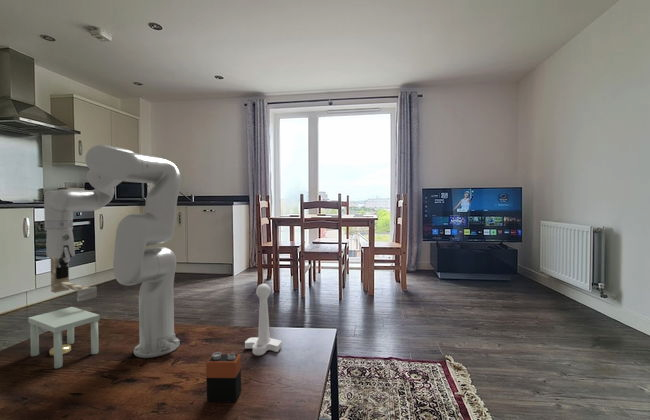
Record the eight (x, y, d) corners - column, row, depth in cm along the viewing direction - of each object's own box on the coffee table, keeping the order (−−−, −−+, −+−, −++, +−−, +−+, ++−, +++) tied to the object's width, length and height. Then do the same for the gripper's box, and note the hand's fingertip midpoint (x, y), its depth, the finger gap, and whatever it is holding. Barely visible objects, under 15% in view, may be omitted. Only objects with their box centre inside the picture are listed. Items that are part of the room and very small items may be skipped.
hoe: (96, 297, 102) (96, 254, 101) (79, 301, 97) (78, 257, 97) (66, 288, 112) (66, 250, 111) (49, 291, 107) (48, 251, 107)
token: (74, 351, 96) (74, 346, 96) (54, 358, 91) (53, 353, 91) (66, 347, 98) (66, 343, 98) (46, 354, 94) (46, 349, 94)
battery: (213, 391, 74) (213, 349, 74) (241, 391, 74) (241, 349, 73) (206, 402, 70) (205, 358, 69) (235, 403, 69) (235, 359, 69)
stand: (100, 352, 94) (99, 314, 94) (55, 369, 85) (54, 327, 84) (72, 341, 102) (72, 306, 102) (29, 355, 93) (28, 317, 92)
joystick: (283, 346, 97) (282, 283, 96) (274, 358, 89) (273, 289, 89) (251, 343, 99) (250, 281, 99) (239, 354, 92) (238, 287, 92)
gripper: (83, 225, 108) (83, 278, 108) (61, 224, 116) (62, 273, 116) (56, 227, 101) (57, 282, 101) (35, 225, 109) (36, 277, 109)
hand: (59, 277), depth 109 cm, fingers closed on hoe, 3 cm apart
